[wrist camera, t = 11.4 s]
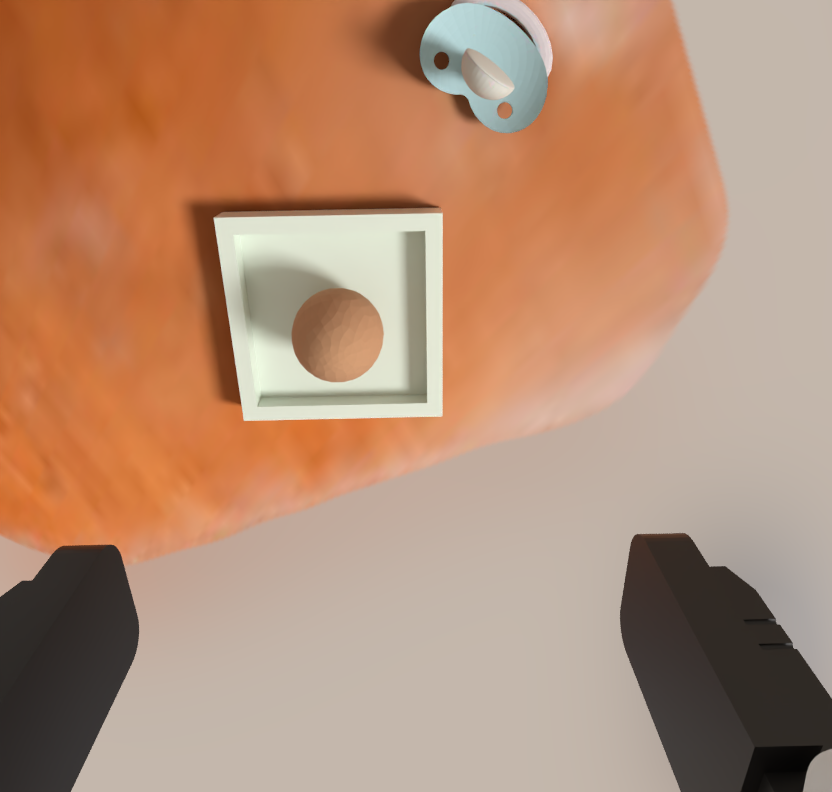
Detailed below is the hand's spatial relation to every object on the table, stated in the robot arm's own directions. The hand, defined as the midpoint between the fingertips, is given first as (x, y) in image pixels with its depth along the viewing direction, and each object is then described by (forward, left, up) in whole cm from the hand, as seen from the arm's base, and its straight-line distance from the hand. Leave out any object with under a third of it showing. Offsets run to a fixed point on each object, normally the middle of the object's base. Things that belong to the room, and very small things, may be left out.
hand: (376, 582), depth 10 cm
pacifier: (-9, +5, -32) cm, 34 cm away
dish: (+6, -4, -32) cm, 33 cm away
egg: (+6, -4, -32) cm, 32 cm away
